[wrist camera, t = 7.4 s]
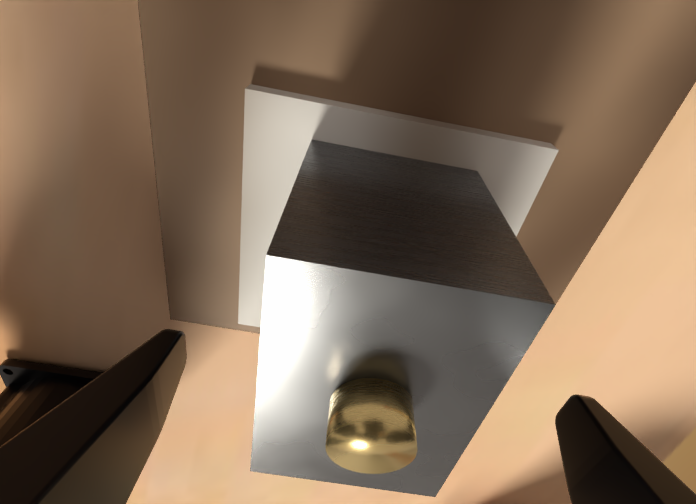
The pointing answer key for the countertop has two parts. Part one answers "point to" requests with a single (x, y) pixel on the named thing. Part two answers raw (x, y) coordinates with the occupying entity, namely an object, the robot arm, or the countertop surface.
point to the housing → (387, 320)
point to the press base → (399, 117)
